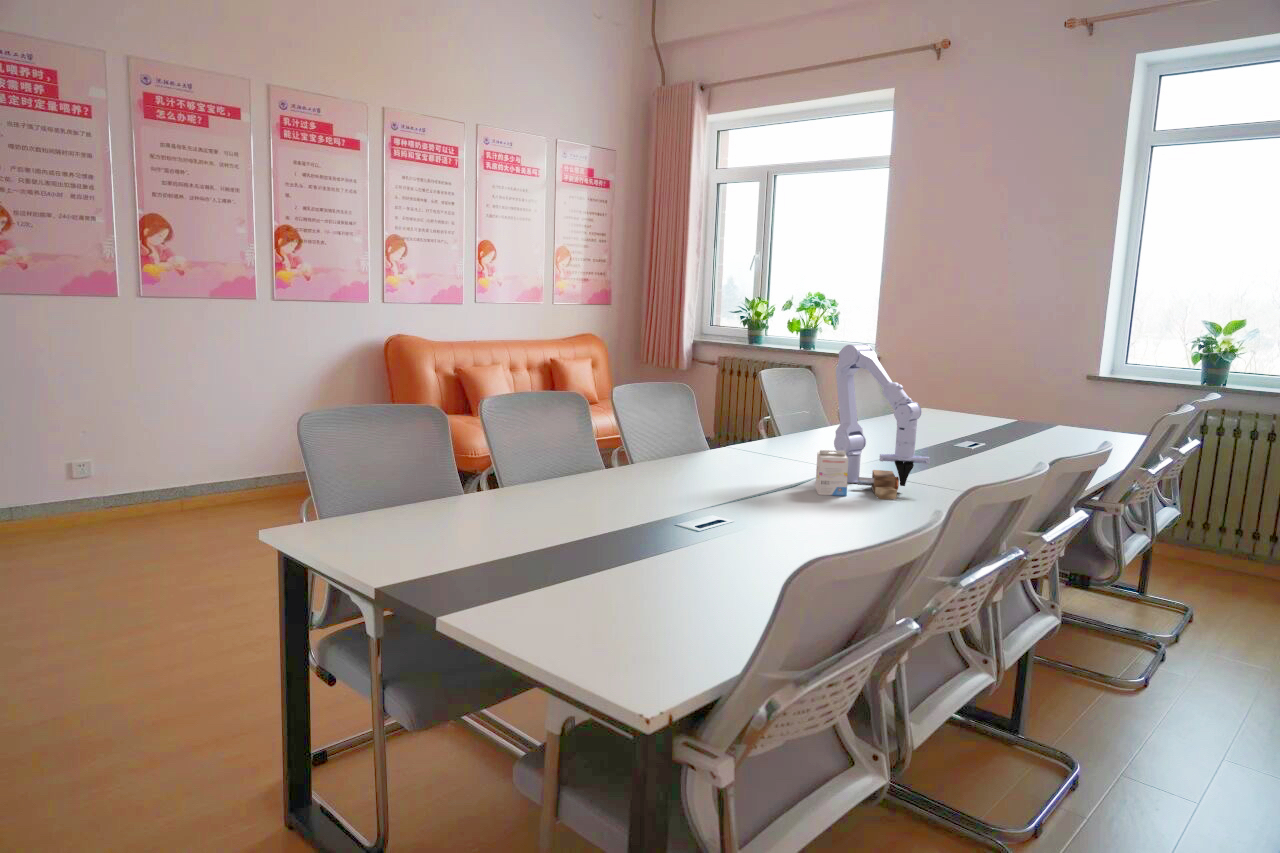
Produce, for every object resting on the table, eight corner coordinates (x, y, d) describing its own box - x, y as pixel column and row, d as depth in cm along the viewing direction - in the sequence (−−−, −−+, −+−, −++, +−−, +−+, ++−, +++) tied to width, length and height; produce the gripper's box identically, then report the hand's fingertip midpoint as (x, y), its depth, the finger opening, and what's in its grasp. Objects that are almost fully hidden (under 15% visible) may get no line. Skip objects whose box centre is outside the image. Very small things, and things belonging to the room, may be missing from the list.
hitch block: (874, 493, 260) (875, 476, 259) (871, 486, 269) (872, 469, 269) (894, 495, 259) (895, 477, 258) (891, 487, 268) (892, 471, 267)
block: (880, 499, 253) (880, 490, 252) (874, 496, 257) (875, 486, 256) (896, 499, 254) (897, 489, 253) (890, 496, 258) (891, 486, 257)
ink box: (843, 490, 264) (845, 447, 262) (846, 496, 256) (849, 452, 253) (814, 488, 265) (817, 446, 262) (817, 495, 256) (820, 451, 254)
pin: (857, 488, 263) (858, 475, 263) (856, 485, 267) (857, 473, 267) (898, 491, 261) (899, 478, 261) (896, 488, 265) (897, 475, 264)
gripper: (882, 442, 258) (879, 486, 260) (932, 445, 255) (928, 489, 257) (880, 438, 265) (877, 481, 267) (928, 441, 262) (925, 484, 264)
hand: (902, 485), depth 263 cm, fingers closed
